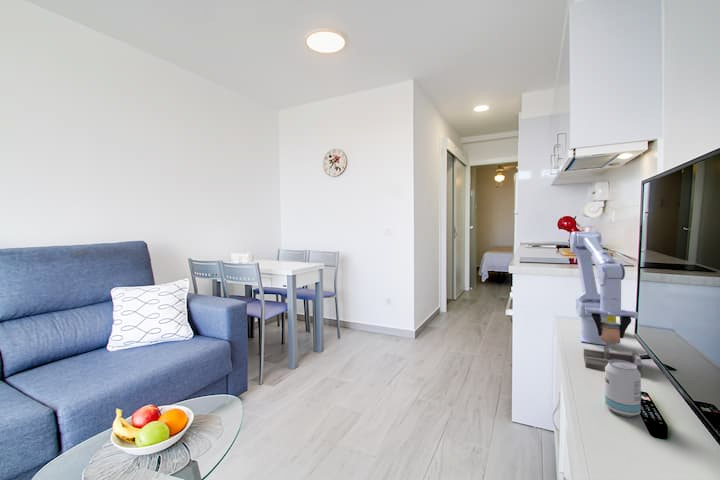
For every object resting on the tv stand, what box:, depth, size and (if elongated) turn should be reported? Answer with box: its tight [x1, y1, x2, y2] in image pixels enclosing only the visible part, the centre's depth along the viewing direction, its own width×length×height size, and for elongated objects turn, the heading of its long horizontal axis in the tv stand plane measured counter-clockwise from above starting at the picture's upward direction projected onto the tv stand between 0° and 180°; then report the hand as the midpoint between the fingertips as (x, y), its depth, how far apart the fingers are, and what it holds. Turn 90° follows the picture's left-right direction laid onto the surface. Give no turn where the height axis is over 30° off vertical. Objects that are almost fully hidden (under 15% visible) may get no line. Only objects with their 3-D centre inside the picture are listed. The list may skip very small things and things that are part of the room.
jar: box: [601, 322, 621, 345], centre depth 113 cm, size 6×6×6 cm
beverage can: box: [604, 360, 642, 418], centre depth 81 cm, size 7×7×12 cm
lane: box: [583, 348, 643, 377], centre depth 106 cm, size 10×14×5 cm
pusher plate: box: [603, 345, 611, 360], centre depth 107 cm, size 6×1×4 cm, turn 149°
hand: (610, 336), depth 113 cm, fingers closed on jar, 5 cm apart
